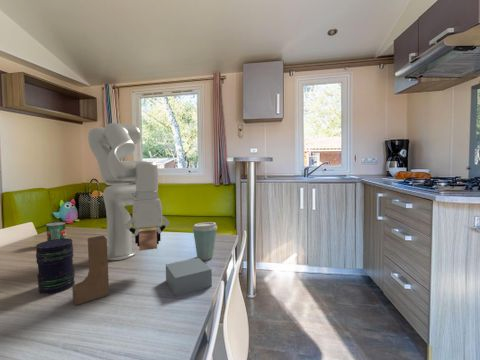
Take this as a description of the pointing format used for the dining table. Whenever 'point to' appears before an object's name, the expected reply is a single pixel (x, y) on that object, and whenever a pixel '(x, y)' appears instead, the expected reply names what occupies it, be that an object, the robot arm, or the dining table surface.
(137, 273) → the dining table surface
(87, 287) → the wooden block
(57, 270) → the storage jar
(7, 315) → the dining table surface
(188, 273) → the slate box
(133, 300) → the dining table surface
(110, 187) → the robot arm
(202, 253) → the disposable coffee cup
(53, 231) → the canned tomato
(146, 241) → the terracotta cube
